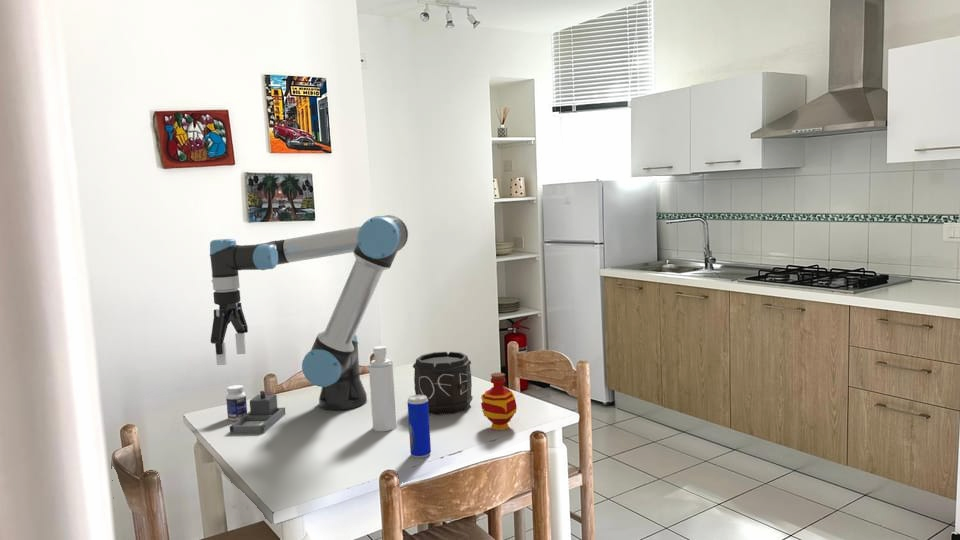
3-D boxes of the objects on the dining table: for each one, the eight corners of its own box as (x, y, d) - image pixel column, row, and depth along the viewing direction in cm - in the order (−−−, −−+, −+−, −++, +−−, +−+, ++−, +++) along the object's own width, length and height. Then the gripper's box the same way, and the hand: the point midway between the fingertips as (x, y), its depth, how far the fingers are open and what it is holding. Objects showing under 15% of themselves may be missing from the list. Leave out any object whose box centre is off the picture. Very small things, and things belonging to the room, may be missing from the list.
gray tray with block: (285, 414, 213) (283, 387, 212) (263, 433, 196) (261, 403, 195) (254, 414, 214) (252, 387, 213) (230, 433, 197) (227, 404, 196)
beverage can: (410, 451, 176) (407, 395, 175) (430, 450, 177) (427, 393, 175) (410, 459, 171) (407, 400, 170) (431, 457, 172) (427, 399, 170)
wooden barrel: (440, 420, 200) (437, 367, 198) (404, 408, 213) (401, 358, 212) (485, 406, 212) (483, 356, 210) (449, 395, 225) (447, 348, 223)
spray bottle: (390, 432, 192) (385, 344, 189) (369, 430, 194) (363, 344, 191) (400, 424, 198) (395, 339, 196) (379, 423, 200) (373, 339, 197)
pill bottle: (241, 421, 208) (238, 389, 207) (224, 421, 209) (221, 389, 208) (251, 415, 213) (248, 384, 212) (234, 415, 214) (231, 384, 213)
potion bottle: (522, 421, 195) (520, 370, 194) (512, 434, 186) (510, 380, 184) (487, 419, 199) (485, 369, 197) (476, 431, 189) (473, 378, 187)
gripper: (232, 285, 219) (237, 350, 222) (194, 296, 195) (200, 369, 197) (255, 284, 219) (260, 349, 221) (219, 296, 194) (225, 369, 196)
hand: (232, 359), depth 209 cm, fingers open, 13 cm apart
